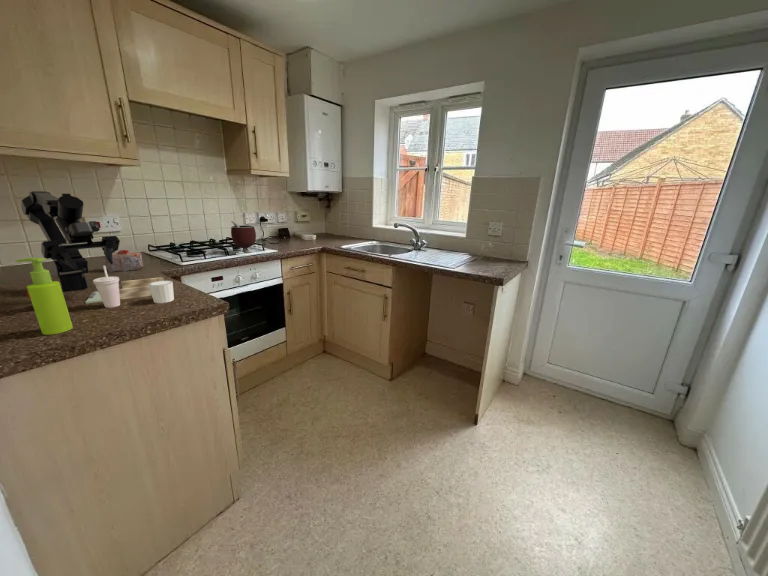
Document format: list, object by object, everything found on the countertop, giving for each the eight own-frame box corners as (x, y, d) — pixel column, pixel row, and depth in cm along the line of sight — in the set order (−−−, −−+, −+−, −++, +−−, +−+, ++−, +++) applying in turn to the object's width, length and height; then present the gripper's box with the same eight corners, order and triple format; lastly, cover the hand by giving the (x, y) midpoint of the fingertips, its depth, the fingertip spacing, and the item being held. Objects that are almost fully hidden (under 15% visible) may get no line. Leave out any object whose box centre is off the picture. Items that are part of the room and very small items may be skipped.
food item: (145, 267, 155) (141, 247, 152) (143, 270, 149) (138, 250, 146) (111, 269, 149) (106, 249, 146) (106, 273, 142) (101, 252, 140)
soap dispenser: (52, 326, 86) (29, 256, 81) (78, 325, 87) (58, 256, 81) (31, 335, 81) (5, 260, 75) (59, 334, 81) (36, 260, 76)
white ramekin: (180, 300, 109) (177, 281, 107) (161, 306, 103) (157, 286, 101) (166, 297, 111) (163, 279, 109) (147, 303, 105) (143, 284, 103)
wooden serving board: (118, 301, 107) (115, 290, 106) (123, 291, 117) (121, 281, 116) (163, 295, 113) (161, 285, 112) (165, 286, 124) (163, 277, 123)
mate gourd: (262, 252, 197) (259, 221, 192) (246, 256, 185) (242, 222, 179) (243, 251, 203) (240, 220, 197) (226, 254, 190) (222, 221, 184)
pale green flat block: (86, 304, 102) (84, 300, 102) (94, 294, 113) (93, 290, 112) (117, 300, 107) (116, 296, 106) (122, 291, 117) (121, 287, 116)
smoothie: (110, 311, 98) (99, 268, 94) (94, 309, 99) (83, 267, 95) (130, 304, 104) (121, 264, 100) (115, 303, 105) (105, 263, 101)
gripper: (32, 214, 91) (55, 255, 89) (110, 212, 106) (132, 246, 104) (33, 238, 97) (54, 277, 95) (107, 233, 112) (127, 266, 110)
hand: (94, 266), depth 101 cm, fingers open, 9 cm apart
